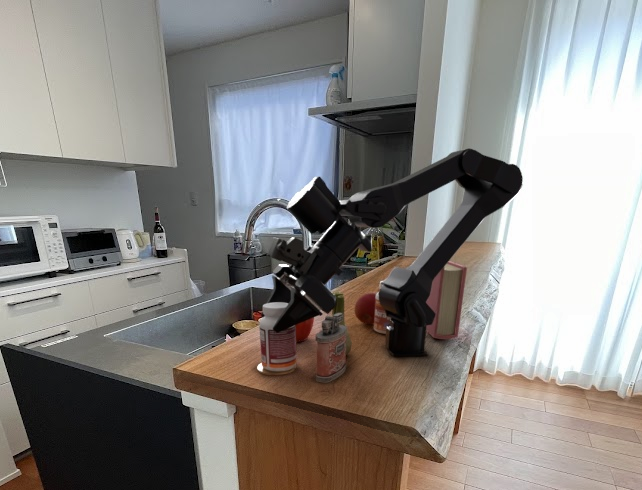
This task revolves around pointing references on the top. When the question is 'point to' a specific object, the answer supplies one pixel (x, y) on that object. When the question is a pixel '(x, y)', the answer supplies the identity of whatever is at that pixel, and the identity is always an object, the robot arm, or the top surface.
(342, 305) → the fennel bulb
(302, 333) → the apple
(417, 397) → the top surface
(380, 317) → the pill bottle
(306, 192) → the robot arm
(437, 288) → the book
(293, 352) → the pill bottle
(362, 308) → the apple
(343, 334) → the lighter
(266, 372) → the gold disc
